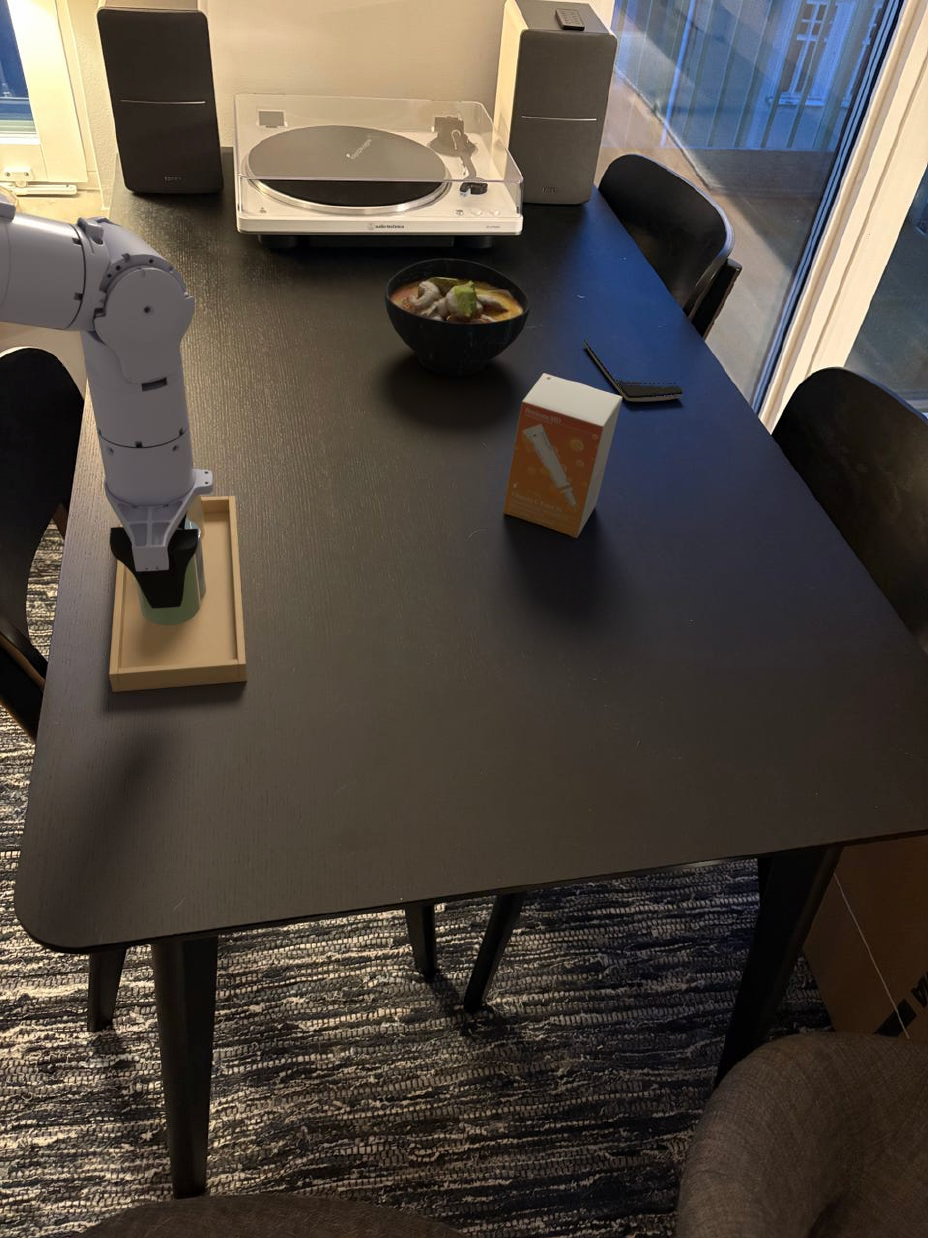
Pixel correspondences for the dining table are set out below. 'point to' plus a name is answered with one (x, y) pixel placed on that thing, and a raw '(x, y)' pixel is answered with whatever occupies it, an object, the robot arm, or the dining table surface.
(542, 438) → the small box
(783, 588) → the dining table surface
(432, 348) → the bowl
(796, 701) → the dining table surface
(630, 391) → the laptop
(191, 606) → the sage bottle
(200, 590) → the blue bottle
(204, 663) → the tray
